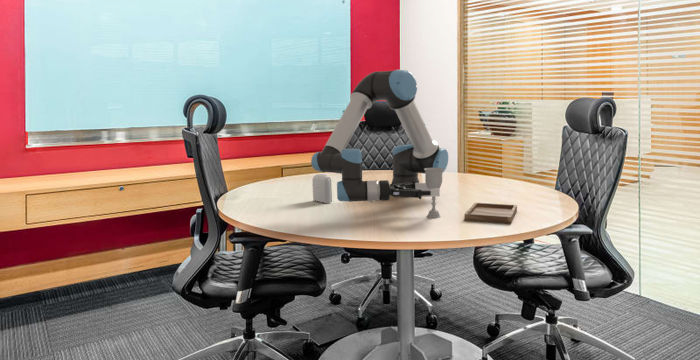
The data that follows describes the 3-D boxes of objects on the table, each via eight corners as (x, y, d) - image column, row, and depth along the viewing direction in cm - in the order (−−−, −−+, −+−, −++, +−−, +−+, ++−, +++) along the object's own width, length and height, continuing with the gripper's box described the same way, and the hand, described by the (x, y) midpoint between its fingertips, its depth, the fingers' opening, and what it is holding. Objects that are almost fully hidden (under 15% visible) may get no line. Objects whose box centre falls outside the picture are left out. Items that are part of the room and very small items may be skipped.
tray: (474, 208, 202) (475, 202, 202) (516, 211, 196) (517, 205, 195) (464, 220, 182) (464, 214, 182) (510, 223, 176) (510, 217, 175)
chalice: (427, 219, 186) (427, 170, 183) (421, 215, 192) (421, 168, 189) (446, 217, 187) (446, 169, 184) (439, 214, 194) (439, 167, 191)
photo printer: (311, 201, 225) (310, 173, 223) (319, 199, 228) (318, 172, 226) (325, 204, 217) (324, 175, 215) (333, 202, 220) (332, 174, 218)
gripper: (376, 194, 200) (429, 193, 201) (381, 207, 175) (442, 205, 176) (376, 175, 199) (429, 174, 199) (381, 186, 174) (442, 184, 175)
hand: (435, 189), depth 188 cm, fingers open, 13 cm apart
